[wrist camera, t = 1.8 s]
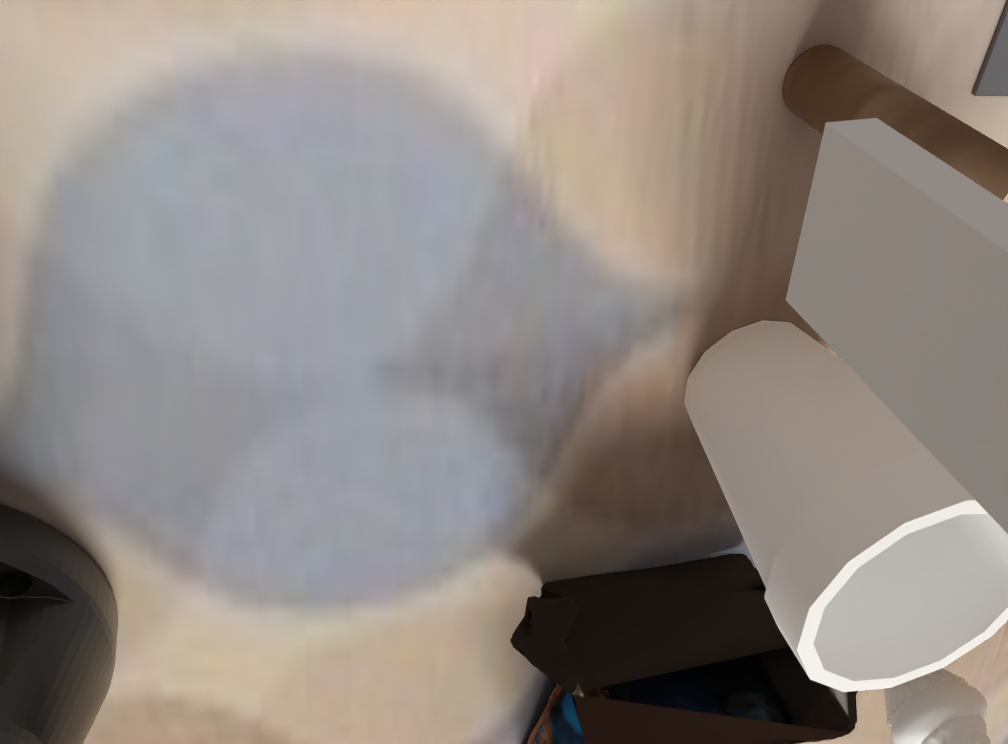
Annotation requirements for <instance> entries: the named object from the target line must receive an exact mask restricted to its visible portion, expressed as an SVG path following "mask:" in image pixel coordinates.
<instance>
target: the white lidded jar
mask: <svg viewBox="0 0 1008 744" xmlns="http://www.w3.org/2000/svg"><path fill="white" fill-rule="evenodd" d="M884 693H885V703H886V713H887V722H888V726H889V728H890V730H891V737H892V740H893V743H894V744H990V739H989V738H988V737H987V736H986V735H987V729H986V723H985V722H986V717H987V702H986V700H985V698H984V696H983V695H982V694H981V693H980V692H979V691H978V690H977V689H976V688H974V687H973V686H971V685H969V684H968V683H967V682H966V681H965V679H963V678H961V677H959V676H957V675H955V674H953V673H951V672H949V671H947V670H945V669H943V668H942V669H939V670H936V671H934V672H931V673H928V674H926V675H923V676H921V677H918V678H915V679H913V680H910V681H907V682H905V683H902V684H899V685H897V686H894V687H892V688H884Z"/></svg>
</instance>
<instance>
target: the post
mask: <svg viewBox="0 0 1008 744" xmlns="http://www.w3.org/2000/svg"><path fill="white" fill-rule="evenodd" d="M783 98H784V101H785V103H786V105H787V107H788V108H789V109H790V110H791V111H792V112H793V113H795V114H796V115H797V116H799V117H800V118H801V119H803V120H804V121H805V122H807V123H808V124H810V125H811V126H812V127H814V128H815V129H816V130H818V131H819V132H820V133H822V134H823V132H824V128H825V123H826V122H836V121H847V120H859V119H870V118H878V119H879V120H881V121H882V122H884V123H885V124H887V125H888V126H890V127H891V128H893V129H894V130H896V131H897V132H899V133H900V134H902V135H904V136H905V137H907V138H908V139H910V140H911V141H913V142H914V143H916V144H917V145H919V146H920V147H922V148H923V149H925V150H926V151H928V152H929V153H931V154H933V155H934V156H936V157H937V158H939V159H940V160H942V161H943V162H945V163H946V164H948V165H949V166H951V167H952V168H954V169H955V170H957V171H959V172H960V173H962V174H963V175H965V176H966V177H968V178H969V179H971V180H972V181H974V182H975V183H977V184H978V185H980V186H981V187H983V188H984V189H986V190H988V191H989V192H991V193H992V194H994V195H995V196H997V197H998V198H1000V199H1001V200H1003V199H1004V198H1005V197H1006V195H1007V193H1008V149H1007V148H1005V147H1004V146H1002V145H1000V144H999V143H997V142H995V141H994V140H992V139H990V138H989V137H987V136H985V135H984V134H982V133H980V132H979V131H977V130H975V129H973V128H972V127H970V126H968V125H967V124H965V123H963V122H962V121H960V120H958V119H957V118H955V117H953V116H952V115H950V114H948V113H946V112H945V111H943V110H941V109H940V108H938V107H936V106H935V105H933V104H931V103H930V102H928V101H926V100H925V99H923V98H921V97H919V96H918V95H916V94H914V93H913V92H911V91H909V90H908V89H906V88H904V87H903V86H901V85H899V84H898V83H896V82H894V81H892V80H891V79H889V78H887V77H886V76H884V75H882V74H881V73H879V72H877V71H876V70H874V69H872V68H871V67H869V66H867V65H866V64H864V63H862V62H860V61H859V60H857V59H855V58H854V57H852V56H850V55H849V54H847V53H845V52H844V51H842V50H840V49H839V48H837V47H835V46H831V45H820V46H816V47H813V48H811V49H809V50H807V51H805V52H804V53H803V54H801V55H800V56H799V57H798V58H797V59H796V60H795V61H794V62H793V64H792V65H791V67H790V68H789V70H788V72H787V74H786V76H785V80H784V84H783Z"/></svg>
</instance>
